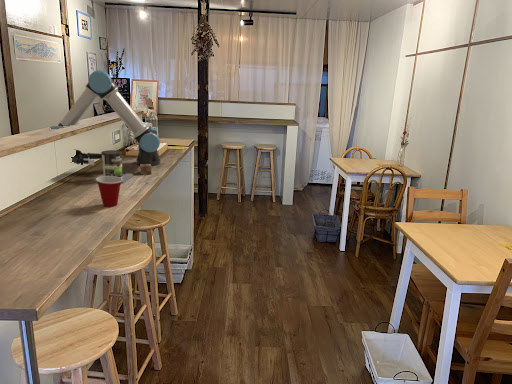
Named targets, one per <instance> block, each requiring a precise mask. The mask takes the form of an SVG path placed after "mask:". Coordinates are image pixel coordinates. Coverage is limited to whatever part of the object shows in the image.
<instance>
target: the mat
mask: <svg viewBox="0 0 512 384" xmlns="http://www.w3.org/2000/svg"><path fill="white" fill-rule="evenodd" d="M101 176H103V174H101V175H99V176H98V177H101ZM132 177H134V174H129V173H126V174H124V173H123V178H122V179H123V180H122V182H121V184H124V183H126V182H127V181H128V180H130V179H131V178H132ZM92 182H94V183H97V181H96V178H95V179H92Z"/></svg>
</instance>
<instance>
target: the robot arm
mask: <svg viewBox="0 0 512 384" xmlns="http://www.w3.org/2000/svg"><path fill="white" fill-rule="evenodd" d="M98 98H100V99H101V100H104V101H106V102H107V103H108V105H109V106H110V107H111V108H112V110H113V111H114V112H115V113H116V114H117V116H118V117H119V118H120V119H121V120H122V122H123V123H124V124H125V126H127V128H128V129H129V130H130V131H131V132H132V134H133V135H132V136H133V139H134V141H136V143H137V145H138V154H137V156H136V160H135V161H136V162H135V163H136V165H139V166H140V164H151V167H152V166H157V165H158V166H159V165H160V164H161V157H160V156H159V152H158V149H159V148H160V145H161V139H160V137H159V136H158V129H157V128H156V127H151V126H150V125H146V124H145V123H144V122H143V120H142V119H141V117H139V116H138V114H137V113H136V112H135V111H134V108H132V107H131V105H130V104H129V103H128V102H127V101H126V99H125V98H124V96H122V94H121V93H120V92H119V86H118V85H117V84H116V83H115V81H114V80H113V78H111V75H110V74H109V73H107V72H106V71H104V70H101V69H98V70H94V71H92V73H90V75H89V76H88V82H87V84H86V85H85V89H84V91H83V92H82V93H81V95H80V96H79V97H78V98H77V100H76V101H75V102H74V103H73V105H72V106H71V107H70V108H69V111H68V112H66V113H65V115H64V116H63V117H62V119H61V120H60V122H59V123H58V124H57V125H51V126H49V129H50V128H51V129H59V128H64V127H63V126H70V125H75V126H77V124H78V123H79V122H80V121H81V119H82V118H83V116H85V114H86V112H87V111H88V110H89V109H90V107H91V106H92V105H93V104H94V102H96V100H97V99H98ZM75 150H76V155H75V156H74V157H71V158H72V162H74V163H73V164H77V165H81V166H84V165H89V166H95V160H102V153H93V152H92V153H91V152H87V153H85V152H82V151H81V150H79V149H75ZM72 162H71V163H72Z"/></svg>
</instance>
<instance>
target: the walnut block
mask: <svg viewBox="0 0 512 384" xmlns="http://www.w3.org/2000/svg"><path fill="white" fill-rule="evenodd" d="M139 167H140V168H139V169H140V171H139V172H140V175H141V174H147V175H152V166H151V164H140V165H139Z"/></svg>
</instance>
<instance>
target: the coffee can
mask: <svg viewBox="0 0 512 384" xmlns="http://www.w3.org/2000/svg"><path fill="white" fill-rule="evenodd" d="M100 154H102V159H101V161H102V162H101V163H102V175H103V176H115V177H120V178H123V174H124V172H123V152H122V151H121V150H114V149H111V150H103V151H101V152H100Z"/></svg>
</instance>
